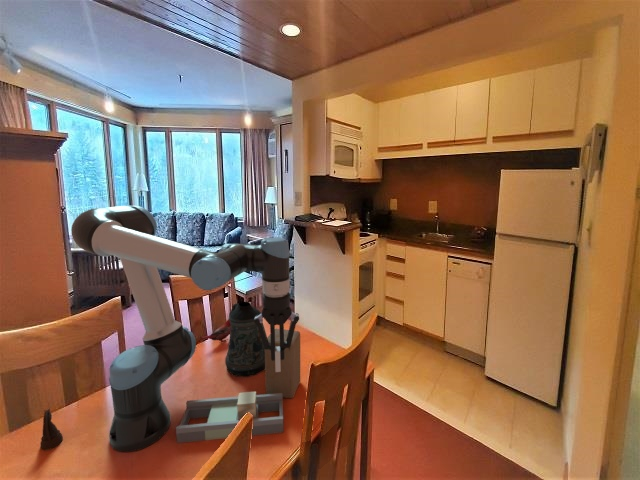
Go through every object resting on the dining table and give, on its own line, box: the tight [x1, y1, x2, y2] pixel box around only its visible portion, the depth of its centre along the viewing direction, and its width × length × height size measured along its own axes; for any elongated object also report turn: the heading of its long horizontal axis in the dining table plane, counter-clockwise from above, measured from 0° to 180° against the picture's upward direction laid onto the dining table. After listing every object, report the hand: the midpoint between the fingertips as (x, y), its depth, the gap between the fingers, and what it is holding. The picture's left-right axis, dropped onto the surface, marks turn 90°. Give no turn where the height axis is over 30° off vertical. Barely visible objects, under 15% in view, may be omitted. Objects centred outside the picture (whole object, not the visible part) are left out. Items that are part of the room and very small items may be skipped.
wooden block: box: [264, 328, 301, 399], centre depth 105 cm, size 10×10×20 cm
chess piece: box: [40, 407, 64, 451], centre depth 83 cm, size 5×5×10 cm
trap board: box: [175, 393, 284, 444], centre depth 91 cm, size 29×11×4 cm, turn 98°
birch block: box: [237, 391, 257, 420], centre depth 91 cm, size 5×5×5 cm
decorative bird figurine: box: [199, 318, 231, 344], centre depth 135 cm, size 3×18×10 cm, turn 139°
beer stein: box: [224, 301, 265, 378], centre depth 119 cm, size 16×19×25 cm
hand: (278, 369), depth 90 cm, fingers closed
